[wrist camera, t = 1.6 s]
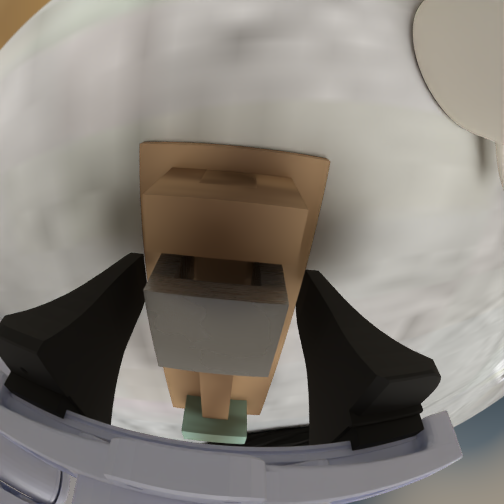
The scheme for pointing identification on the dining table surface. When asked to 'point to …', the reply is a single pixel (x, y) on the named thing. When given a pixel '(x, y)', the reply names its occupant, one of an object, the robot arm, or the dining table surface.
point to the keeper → (215, 318)
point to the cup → (465, 63)
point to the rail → (228, 249)
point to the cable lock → (275, 438)
